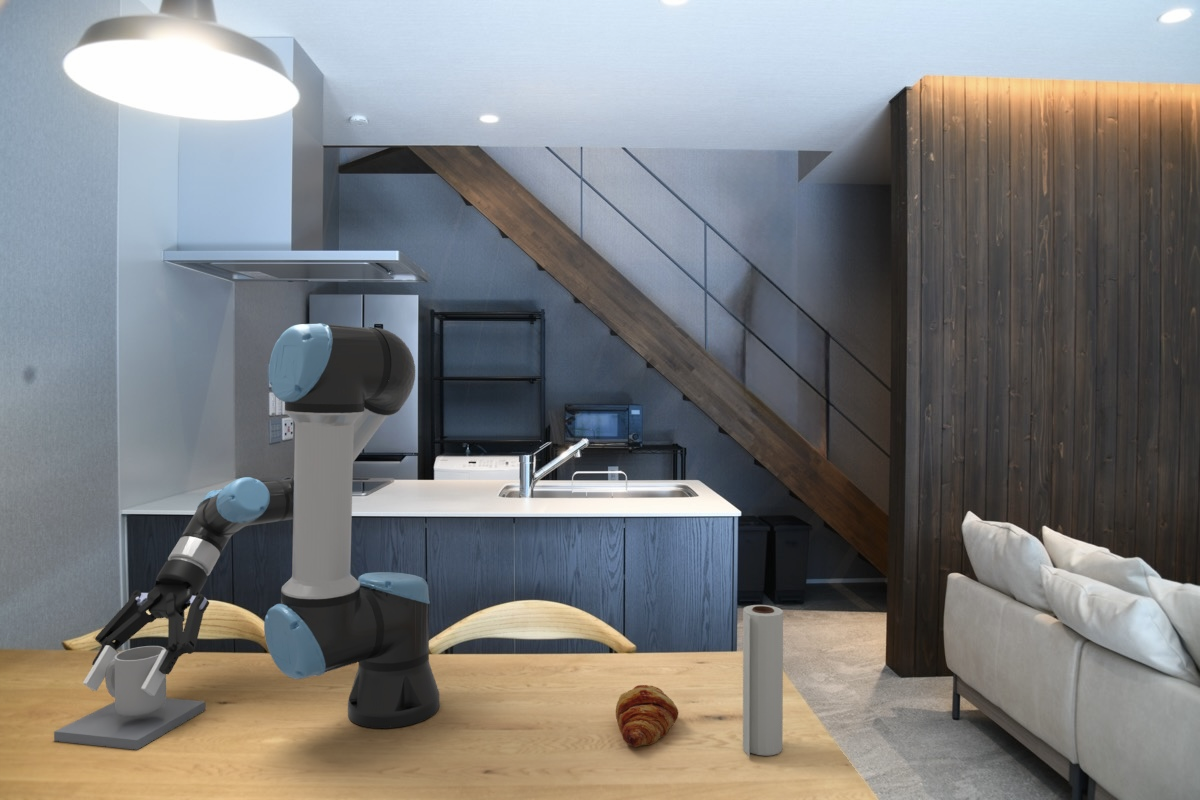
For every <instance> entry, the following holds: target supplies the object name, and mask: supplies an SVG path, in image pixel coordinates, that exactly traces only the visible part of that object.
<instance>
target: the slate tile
mask: <svg viewBox="0 0 1200 800" xmlns="http://www.w3.org/2000/svg"><path fill="white" fill-rule="evenodd" d="M206 708H207V707H206V701H203V700H192V699H183V698H171V697H166V703H165V705H164V706H163V707H162V708H160V709H159V710H157V711H154V712H151V713H148V714H144V715H138V716H122V715H119V714H118V713H117V712H116V710H115V701H114V702H112V703H110V704H108V705H106V706H103V707H101V708H99V709H97V710H96V711H93V712H91V713H89V714H87V715H85V716H83V717H80V718H79V719H77V720H75V721H72V722H71V723H68V724H67V725H64V726H62V727H60V728H59V729H57V730H55V731H53V740H54V742H58V741H59V742H61V743H68V744H69V743H70V744H79V745H87V746H95V747H96V746H97V747H105V746H106V748H115V749H124V750H125V749H126V750H133V749H134V750H136V751H138V750H140V749H142V748H143V747H145V746H147V745H148V743H149V744H150V743H151V741H152V742H154V741H156V740H157V739H159V738H161V737H163V736H164V735H166V734H167V733H169V732H170V730H171V731H172V730H174V729H176V728H178V727H180V726H181V725H182V723H183V724H185V723H186V722H188V721H189V719H190V720H191V719H193V718H195V717H196V716H198V715H200V714H202V713H203V712H205V711H206ZM204 710H205V711H204ZM202 711H203V712H202ZM201 712H202V713H201ZM199 713H200V714H199ZM197 714H198V715H197ZM194 716H195V717H194ZM192 717H193V718H192ZM187 720H188V721H187ZM177 726H178V727H177ZM175 727H176V728H175ZM168 731H169V732H168ZM165 733H166V734H165ZM158 737H159V738H158ZM156 738H157V739H156ZM153 740H154V741H153ZM146 744H147V745H146ZM141 747H142V748H141Z"/></svg>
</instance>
